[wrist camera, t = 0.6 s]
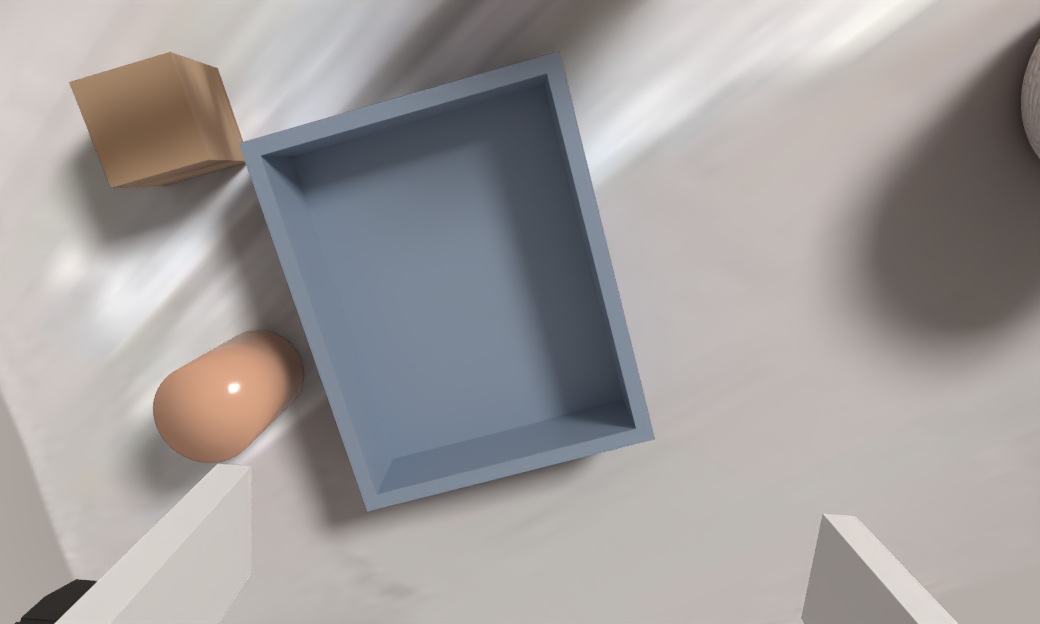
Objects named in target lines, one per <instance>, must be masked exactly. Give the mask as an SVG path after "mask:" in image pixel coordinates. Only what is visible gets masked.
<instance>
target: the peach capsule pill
mask: <svg viewBox="0 0 1040 624" xmlns="http://www.w3.org/2000/svg"><path fill="white" fill-rule="evenodd" d="M303 379H304V370H303V364H302V361H301V359H300V356H299V354H298V353H297V351H296V350H295V348H294V347H293V346H292V345H291V344H290V343H289V342H288V341H287V340H285V339H284V338H282V337H281V336H279V335H277V334H275V333H272V332H268V331H262V330H253V331H247V332H244V333H241V334H239V335H237V336H235V337H234V338H232V339H230V340H228V341H227V342H225V343H223V344H221V345H220V346H218V347H216V348H214V349H213V350H211V351H209V352H207V353H206V354H204V355H202V356H200V357H199V358H197V359H195V360H193V361H192V362H190V363H188V364H186V365H185V366H183V367H181V368H179V369H178V370H176V371H174V372H173V373H171V374H170V375H169V376H167V377H166V378H165V379H164V381H163V382H162V383H161V384H160V386H159V388H158V390H157V392H156V394H155V398H154V403H153V415H154V420H155V424H156V427H157V429H158V431H159V433H160V435H161V436H162V438H163V439H164V440H165V442H166V443H167V444H168V445H169V446H170V447H171V448H172V449H173V450H175V451H176V452H177V453H179V454H181V455H182V456H184V457H186V458H189V459H191V460H195V461H199V462H205V463H215V462H222V461H225V460H228V459H231V458H233V457H235V456H237V455H238V454H240V453H241V452H242V451H243V450H244V449H245V448H246V447H247V446H248V445H249V444H250V443H251V442H252V441H253V440H254V439H255V438H256V437H257V436H258V435H259V434H260V433H261V432H262V431H263V430H264V429H265V428H266V427H267V426H268V425H269V424H270V423H271V422H272V421H273V420H274V419H275V418H276V417H277V416H278V415H279V414H280V413H281V412H282V411H283V410H284V409H285V408H286V407H287V406H288V405H289V404H290V403H291V402H292V401H293V400H294V399H295V398H296V397H297V395H298V394H299V392H300V390H301V388H302V384H303Z"/></svg>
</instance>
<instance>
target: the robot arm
mask: <svg viewBox="0 0 1040 624" xmlns="http://www.w3.org/2000/svg"><path fill="white" fill-rule="evenodd" d="M250 575H251V466H241V465H228V464H217V465H216V466H215V467H214V468H213V469H212V470H211V471H209V472H208V473H207V474H206V475H205V476H204V477H203V478H202V479H201V480H200V481H199V482H198V483H197V484H196V485H195V486H194V487H193V488H192V489H191V490H190V491H189V492H188V493H187V494H186V495H185V496H184V497H183V498H182V499H181V500H180V501H179V502H178V503H177V504H176V505H175V506H174V507H173V508H172V509H171V510H170V511H169V512H168V513H167V514H166V515H165V516H164V517H163V518H162V519H161V520H160V521H159V522H158V523H156V524H155V525H154V526H153V527H152V528H151V529H150V530H149V531H148V532H147V533H146V534H145V535H144V536H143V537H142V538H141V539H140V540H139V541H138V542H137V543H136V544H135V545H134V546H133V547H132V548H131V549H130V550H129V551H128V552H127V553H126V554H125V555H124V556H123V557H122V558H121V559H120V560H119V561H118V562H117V563H116V564H115V565H114V566H113V567H112V568H111V569H110V570H109V571H108V572H107V573H106V574H104V575H103V576H102V577H101V578H100V579H99V580H98V581H91V580H78V579H76V580H74V581H72V582H71V583H69V584H67V585H65V586H63V587H61V588H60V589H58V590H56V591H54V592H52V593H50V594H49V595H47V596H45V597H44V598H43V599H41V600H40V602H38V603H37V604H36V605H35V606H34V607H33V608H31V609H30V610H29V611H28V612H27V613H26V614H25V615H24V616H23V617H22V618H21V621H20V622H16V623H15V624H219V622H220V621H221V619H222V618H223V616H224V615H225V613H226V612H227V610H228V609H229V607H230V606H231V604H232V603H233V601H234V600H235V598H236V596H237V595H238V593H239V592H240V590H241V589H242V587H243V586H244V584H245V583H246V581H247V580H248V578H249V577H250ZM801 619H802V620H803V622H804V623H805V624H958V623H957V622H956V621H955V620H954V619H953V618H952V617H951V616H950V615H949V614H948V613H947V612H946V611H945V610H944V609H943V608H942V606H941V605H940V604H939V603H938V602H937V601H936V600H935V599H934V598H933V597H932V596H931V595H930V594H929V593H928V592H927V591H926V590H925V589H924V588H923V587H922V585H921V584H920V583H919V582H918V581H917V580H916V579H915V578H914V577H913V576H912V575H911V574H910V573H909V572H908V571H907V570H906V569H905V568H904V567H903V566H902V565H901V563H900V562H899V561H898V560H897V559H896V558H895V557H894V556H893V555H892V554H891V553H890V552H889V551H888V550H887V549H886V548H885V547H884V546H883V545H882V544H881V543H880V541H879V540H878V539H877V538H876V537H875V536H874V535H873V534H872V533H871V532H870V531H869V530H868V529H867V528H866V527H865V526H864V525H863V524H862V523H861V522H860V521H859V519H858V518H857V517H856V516H845V515H833V514H823V515H822V520H821V525H820V530H819V534H818V539H817V544H816V549H815V554H814V559H813V564H812V568H811V573H810V578H809V583H808V588H807V593H806V598H805V602H804V607H803V612H802V617H801Z"/></svg>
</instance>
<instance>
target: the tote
mask: <svg viewBox="0 0 1040 624" xmlns="http://www.w3.org/2000/svg"><path fill="white" fill-rule="evenodd" d="M239 146H240V149H241V151H242V154H243V157H244V160H245V163H246V166H247V169H248V171H249V174H250V177H251V180H252V183H253V186H254V189H255V192H256V194H257V197H258V200H259V203H260V206H261V209H262V212H263V214H264V217H265V220H266V223H267V226H268V229H269V232H270V235H271V237H272V240H273V243H274V246H275V249H276V252H277V255H278V257H279V260H280V263H281V266H282V269H283V272H284V275H285V278H286V280H287V283H288V286H289V289H290V292H291V295H292V298H293V300H294V303H295V306H296V309H297V312H298V315H299V318H300V321H301V323H302V326H303V329H304V332H305V335H306V338H307V341H308V343H309V346H310V349H311V352H312V355H313V358H314V361H315V364H316V366H317V369H318V372H319V375H320V378H321V381H322V384H323V386H324V389H325V392H326V395H327V398H328V401H329V404H330V407H331V409H332V412H333V415H334V418H335V421H336V424H337V427H338V429H339V432H340V435H341V438H342V441H343V444H344V447H345V450H346V452H347V455H348V458H349V461H350V464H351V467H352V470H353V472H354V475H355V478H356V481H357V484H358V487H359V490H360V493H361V495H362V498H363V501H364V504H365V507H366V510H367V512H368V511H371V510H375V509H379V508H383V507H387V506H391V505H395V504H399V503H403V502H407V501H411V500H415V499H419V498H423V497H427V496H431V495H435V494H439V493H443V492H447V491H451V490H455V489H459V488H463V487H467V486H471V485H475V484H479V483H483V482H487V481H491V480H494V479H498V478H502V477H506V476H510V475H514V474H518V473H522V472H526V471H530V470H534V469H538V468H542V467H546V466H550V465H554V464H558V463H562V462H566V461H570V460H574V459H578V458H582V457H586V456H590V455H594V454H598V453H602V452H606V451H610V450H614V449H618V448H621V447H625V446H629V445H633V444H637V443H641V442H645V441H649V440H653V439H655V438H654V434H653V429H652V425H651V421H650V417H649V413H648V409H647V405H646V401H645V397H644V393H643V389H642V385H641V381H640V377H639V373H638V368H637V364H636V360H635V356H634V352H633V348H632V344H631V340H630V336H629V332H628V328H627V324H626V320H625V316H624V312H623V308H622V303H621V299H620V295H619V291H618V287H617V283H616V279H615V275H614V271H613V267H612V263H611V259H610V255H609V251H608V247H607V242H606V238H605V234H604V230H603V226H602V222H601V218H600V214H599V210H598V206H597V202H596V198H595V194H594V190H593V186H592V181H591V177H590V173H589V169H588V165H587V161H586V157H585V153H584V149H583V145H582V141H581V137H580V133H579V129H578V125H577V121H576V116H575V112H574V108H573V104H572V100H571V96H570V92H569V88H568V84H567V80H566V76H565V72H564V68H563V64H562V60H561V55H560V51H557V52H554V53H550V54H547V55H543V56H540V57H536V58H533V59H529V60H526V61H522V62H519V63H515V64H512V65H509V66H505V67H502V68H498V69H495V70H491V71H488V72H484V73H481V74H477V75H474V76H470V77H467V78H463V79H460V80H457V81H453V82H450V83H446V84H443V85H439V86H436V87H432V88H429V89H425V90H422V91H418V92H415V93H412V94H408V95H405V96H401V97H398V98H394V99H391V100H387V101H384V102H380V103H377V104H373V105H370V106H366V107H363V108H360V109H356V110H353V111H349V112H346V113H342V114H339V115H335V116H332V117H328V118H325V119H321V120H318V121H314V122H311V123H308V124H304V125H301V126H297V127H294V128H290V129H287V130H283V131H280V132H276V133H273V134H269V135H266V136H262V137H259V138H256V139H252V140H249V141H245V142H242V143H239Z"/></svg>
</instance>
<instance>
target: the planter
mask: <svg viewBox="0 0 1040 624" xmlns="http://www.w3.org/2000/svg"><path fill="white" fill-rule="evenodd" d="M1021 112H1022V120H1023V124H1024V129H1025V132H1026V135H1027V138H1028V140H1029V142H1030V144H1031V147H1032V148H1033V150H1034V152H1035V153H1036V155H1037V156H1038V158H1039V159H1040V39H1039V41H1038V43H1037V44H1036V46H1035V48H1034V50H1033V52H1032V55H1031V57H1030V60H1029V62H1028V65H1027V68H1026V72H1025V75H1024V80H1023V84H1022V93H1021Z"/></svg>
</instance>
